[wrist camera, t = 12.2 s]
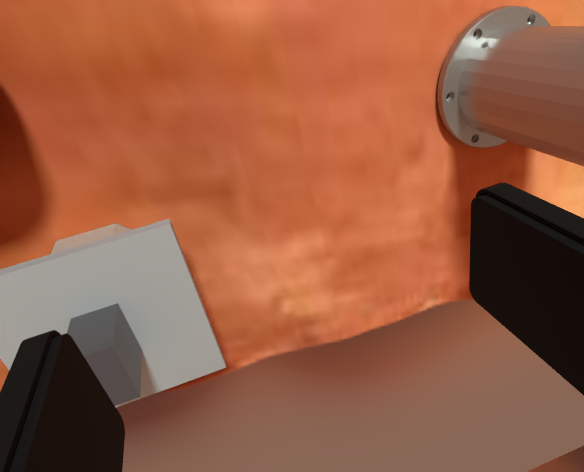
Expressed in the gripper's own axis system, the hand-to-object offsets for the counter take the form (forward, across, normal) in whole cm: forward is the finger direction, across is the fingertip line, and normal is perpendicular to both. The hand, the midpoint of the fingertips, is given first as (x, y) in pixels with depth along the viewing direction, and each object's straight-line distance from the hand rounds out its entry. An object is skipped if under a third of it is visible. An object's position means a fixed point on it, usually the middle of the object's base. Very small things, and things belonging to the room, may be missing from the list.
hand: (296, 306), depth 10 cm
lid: (+22, +12, +14) cm, 29 cm away
